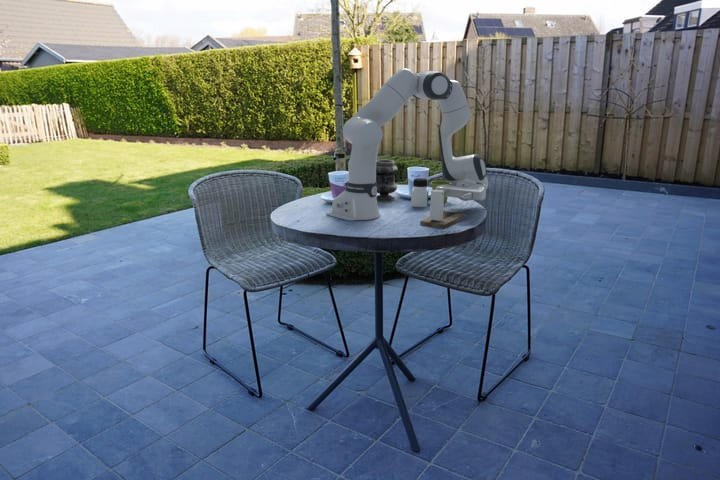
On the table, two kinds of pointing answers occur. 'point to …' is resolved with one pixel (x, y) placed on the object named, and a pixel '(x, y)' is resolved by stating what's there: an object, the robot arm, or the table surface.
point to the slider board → (443, 220)
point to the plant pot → (438, 183)
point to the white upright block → (436, 205)
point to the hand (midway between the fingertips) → (451, 195)
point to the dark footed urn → (385, 179)
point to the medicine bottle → (419, 193)
